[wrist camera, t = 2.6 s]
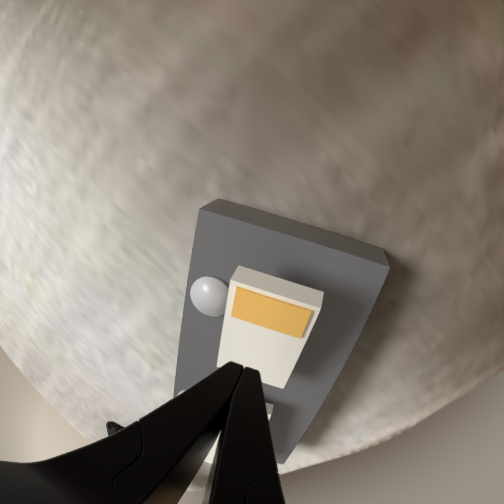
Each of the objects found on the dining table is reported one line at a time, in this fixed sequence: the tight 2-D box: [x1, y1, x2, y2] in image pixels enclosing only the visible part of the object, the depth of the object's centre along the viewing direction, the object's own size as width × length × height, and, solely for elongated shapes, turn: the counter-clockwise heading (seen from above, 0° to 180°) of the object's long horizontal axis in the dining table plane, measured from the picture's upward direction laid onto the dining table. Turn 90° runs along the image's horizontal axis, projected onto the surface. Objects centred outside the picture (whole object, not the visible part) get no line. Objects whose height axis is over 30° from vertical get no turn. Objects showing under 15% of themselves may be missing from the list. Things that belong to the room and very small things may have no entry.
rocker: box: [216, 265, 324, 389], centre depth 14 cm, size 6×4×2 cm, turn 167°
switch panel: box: [173, 199, 390, 464], centre depth 19 cm, size 20×9×3 cm, turn 167°
